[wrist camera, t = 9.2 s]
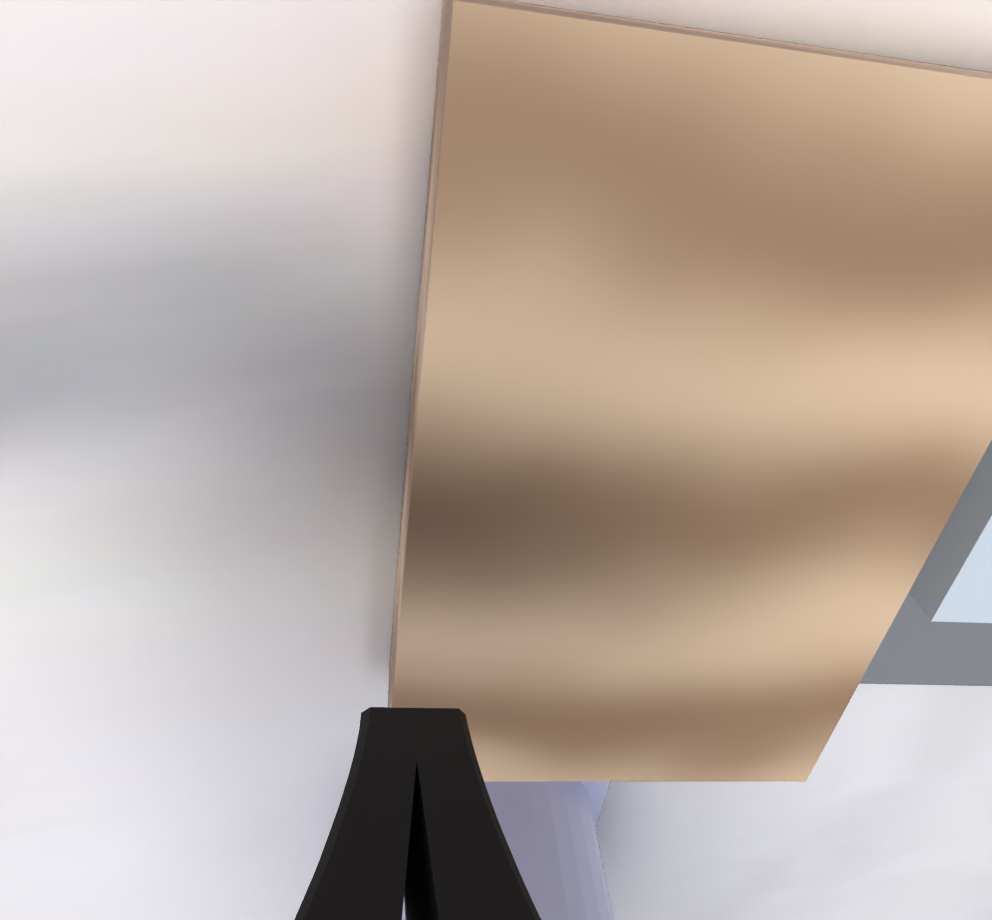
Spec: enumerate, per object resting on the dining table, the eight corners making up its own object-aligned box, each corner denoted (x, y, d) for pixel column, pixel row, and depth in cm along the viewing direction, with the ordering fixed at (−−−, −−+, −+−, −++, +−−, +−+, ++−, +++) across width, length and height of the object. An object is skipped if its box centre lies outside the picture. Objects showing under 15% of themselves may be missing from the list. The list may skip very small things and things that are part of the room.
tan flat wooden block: (754, 674, 26) (805, 781, 22) (389, 666, 24) (385, 781, 21) (1016, 76, 16) (1172, 106, 13) (443, -10, 14) (454, 0, 11)
